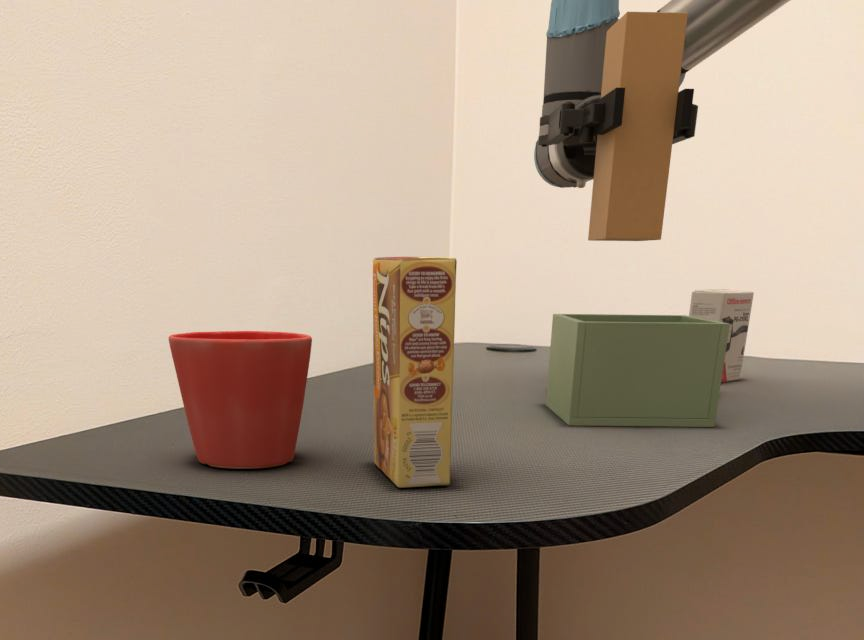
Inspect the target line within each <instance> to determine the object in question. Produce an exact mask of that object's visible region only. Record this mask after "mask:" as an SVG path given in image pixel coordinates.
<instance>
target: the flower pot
mask: <svg viewBox="0 0 864 640" xmlns="http://www.w3.org/2000/svg"><path fill="white" fill-rule="evenodd" d="M168 344H169V349H170V352H171V353H170V354H171V357H172V361H173V367H174V370H175V374H176V378H177V383H178V387H179V392H180V396H181V400H182V404H183V408H184V409H183V410H184V413H185V417H186V421H187V425H188V429H189V433H190V436H191V440H192V444H193V448H194V452H195V455H196V458H197V460H198V462H199V463H201V464H203V465H208V466H210V467H213V468H219V469H220V468H221V469H233V470H234V469H235V470H238V469H239V470H241V469H242V470H243V469H244V470H250V469H251V470H252V469H266V468H274V467H279V466H284V465H287V463H291V462H292V461H293V460H294V459H295V454H296V448H297V442H298V437H299V431H300V427H301V420H302V414H303V408H304V402H305V395H306V388H307V382H308V375H309V368H310V360H311V354H312V345H313V338H312V336H311V335H309V334H304V333H296V332H286V331H268V330H267V331H265V330H222V331H221V330H219V331H218V330H217V331H193V332H192V331H191V332H183V333H175V334H170V335H169V336H168Z"/></svg>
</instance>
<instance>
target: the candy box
mask: <svg viewBox="0 0 864 640" xmlns="http://www.w3.org/2000/svg"><path fill="white" fill-rule="evenodd" d="M457 264H458V262H457V258H455V257H444V256H443V257H441V256H383V257H374V258H373V259H372V323H373V324H372V329H373V330H372V331H373V332H372V333H373V334H372V344H373V345H372V346H373V347H372V348H373V349H372V350H373V351H372V354H373V356H372V359H373V360H372V363H373V365H372V366H373V367H372V368H373V369H372V370H373V371H372V372H373V375H372V376H373V379H372V380H373V381H372V382H373V385H372V386H373V463H374V464H375V465H376V467H377V468H378V469H379V470H381V472H383V474H384V475H385V476H386V477H387V478H389V479H390V481H391V482H392V483H393V484H394V485H395V486H396V487H397V488H399V489H401V488H402V489H403V488H419V487H439V486H441V487H443V486H444V487H445V486H449V485H450V484H451V461H452V460H451V459H452V457H451V456H452V426H453V423H452V422H453V394H454V393H453V392H454V363H455V362H454V361H455V359H454V358H455V357H454V356H455V328H456V327H455V326H456V325H455V324H456V323H455V322H456V292H457V291H456V289H457Z"/></svg>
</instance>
